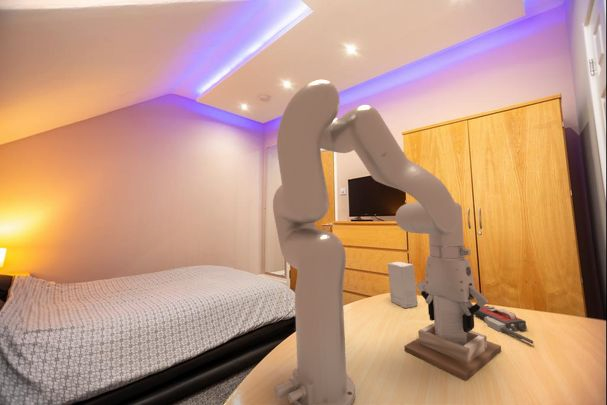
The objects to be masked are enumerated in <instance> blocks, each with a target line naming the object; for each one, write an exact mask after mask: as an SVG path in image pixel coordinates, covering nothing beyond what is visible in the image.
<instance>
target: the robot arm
mask: <svg viewBox="0 0 607 405" xmlns="http://www.w3.org/2000/svg"><path fill="white" fill-rule="evenodd" d="M340 104H341V102H340V95H339V91H338V89H337V88H336V86H335V85H334V84H333V83H332V82H331V81H329V80H327V79H326V80H325V79H317V80H313V81H310V82H309V83H307V84H305V85H303V86H302V87H301V88H299V90H297V92H295V94H294V95H293V96H292V98H291V99H290V100H289V102H288V103H287V105H286V107H285V109H284V110H283V113H282V116H281V119H280V122H279V125H278V131H277V136H276V138H277V139H276V150H277V159H278V165H279V166H278V167H279V173H280V179H281V185H280V186H279V187H278V188H277V189H276V191H275V193H274V196H273V199H272V211H273V215H274V222H275V227H276V233H277V237H278V242H279V246H280V252H281V255H282V256H283V259H284V260H285V262H286V263H287V264H288V265H290V266H291V267H292V268H293V269H296V270H297V271H296V273H297V275H296V281H295V282H296V283H295V288H294V289H295V291H294V312H295V337H296V340H295V341H296V366H297V368H295V369H293V370H292V376H291V377H290V378H289V379H288V381H287V382H285V383H283V382H282V383H281V384H279V385H277V386H274V393H275V394H274V395H275V397H276V399H277V400H280V399H283V398H284V397H286V396H287V399H288V402H289V403H290V404H292V403H293V404H294V405H352V404H353V403H354V401H355V397H356V386H355V383H354V380H353V379H352V378H351V376H349V375H348V374H347V362H346V361H347V358H346V338H345V335H346V334H345V332H346V331H345V314H344V313H345V312H344V310H345V309H344V279H345V272H346V262H347V256H346V255H347V254H346V250H345V247H344V245H343V242H342V241H341V240H340V238H339V237H338V236H337V235H335V234H334V233H332V232H330V231H328V230H324V229H320V228H317V227H316V223H317V222H320V221H321V220H322V219H323V218H324V217H326V216H327V214H328V212H329V209H330V197H329V193H328V188H327V187H328V186H327V181H326V177H325V172H324V167H323V161H322V160H323V159H322V152H321V151H322V150H325V151H329V152H334V153H338V154H339V153H340V154H347V153H348V154H349V153H350V152H352V151H354V152H355V153H356V155H357V156H358V158H359V160H360V161H361V162H362V164H363V165H364V167H365V169H366V170H367V171H368V173H369V174H370V177H371V178H372V179H373V180H374V181H375V182H378V183H379V184H382V185H385V186H387V187H391V188H394V189H396V190H397V189H398V190H399V191H402V192H404V193H406V194H408V195H409V196H411V197H412V198H413V199H414V200H415V201H417V202H409V203H405V204H403V205H401V206H400V207H399V208H398V209H397V211H396V213H395V222H396V224H397V226H398V228H400V229H401V230H403V231H404V232H407V233H410V234H411V233H412V234H426V235H428V245H429V246H428V247H429V255H428V256H427V259H426V263H425V273H424V274H425V276H424V278H425V279H423V280H422V281H420V282H419V283H417V284H416V289H418V291H419V292H420V294H421V296H422V298H424V300H425V303H426V304H427V306H428V307H427V310H428V312H427V313H428V316H429V321H432V322H433V321H434V307H433V297H434V296H439V297H443V298H446V299H449V300H451V301H454V302H458V303H460V305H461V307H462V309H463V310H464V312H465V314H463V331H464V332H466V333H468V332H469V331H473V329H475V315H474V313H475V312H477V311H478V310H480V309H481V308H482V307H483V306H486V304H487V303H488V302H489V300H488V299H487V298H486V296H484V295H483V294H482V293H481V292H480V291H478V290H477V289H476V287H475V280H474V274H473V269H472V266H471V263H470V260H469V258H466V256H470V255H471V250H470V249H468V248H466V246H465V245H464V244H465V241H464V226H463V224H464V222H463V208H462V205H461V204H460V203H459V202H457V201H455V199H454V198H453V197H452V195H451V192H450V191H449V189H448V188H447V186H446V185H445V183H443V182H442V181H441V179H439V178H438V176H436V175H434V174H432V173H431V172H430V171H428V170H426V169H425V168H423V167H422V166H420V165H419V164H417V163H415V162H413V161H411V160H410V159H409V158H408V157H407V156H406V155H405V153H404V151H403V149H402V148H401V146H400V145H399V143H398V141H397V140H396V139H395V137H394V135H393V133H392V132H391V130H390V129H389V127H388V125H387V124H386V122H385V121H384V119H383V117H382V116H381V114H380V112H379V111H378V110H377V109H376V108H375V107H374V106H372V105H369V104H361V105H358V106H356V107H354V108H352V109H350V110H349V111H347V112H346V113H344V114H343V115H342V116H341V117H339V118H338V117H337V115H338V113H339V109H340ZM471 300H476V302H475V304H473V302H472V301H471Z"/></svg>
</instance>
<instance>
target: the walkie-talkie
mask: <svg viewBox="0 0 607 405" xmlns="http://www.w3.org/2000/svg"><path fill="white" fill-rule="evenodd" d="M474 316H475V318H477V319H480V320H482V321H484V322H485V323H486V325H487V327H490V328H491V329H493V330H495V331H497V332H498V333H505V334H508V335H511V336H513V337H515V338H517V339H519V340H523V341H526V342H527V343H529V344H532V345H533V344H534V341H533V339H530V338H528V337H526V336H524V335H522V334H519V333H518V332H519V331H522V332H525V331H526V330H527V329H528V327H527V324H526V322H527V321H526V320H524V319H521V318H520V317H517V315H516V314H515V313H514V312H511V311H508V310H506V309H504V308H498V309H497V308H495V306H494V305H493V306H490V305H484V306H483V307H482V308H481V309H480V310H478V311H477V312H475V313H474Z"/></svg>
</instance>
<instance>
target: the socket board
mask: <svg viewBox="0 0 607 405" xmlns="http://www.w3.org/2000/svg"><path fill="white" fill-rule="evenodd" d="M466 334H467V344H465V345H464V346H462V345H460V344H457V343H455V342H452V341H449V340H447V339H444V338H442V337H439V336H436V335H435V325H434V322H433V323H431V324H429V325H427V326H425V327H423V328H421V329H419V330H418V331H417V335H418V338H416V339H414V340H413V341H411V342H409V343H407V344H405V345H404V346H403V348H404V352H407V353H408V354H410V355H413V356H414V357H417V358H418V359H420V360H422V361H425V362H427V363H429V364H431V365H432V366H434V367H437V368H439V369H441V370H443V371H445V372H448V373H449V374H451V375H453V376H455V377H456V378H457V377H458V378H460V379H461V380H463V381H466V382H467V381H468V380H469V379H471V377H473V376H474V375H475V374H476V373H477V372H478V371H479V370H481V369H482V368H483V367H484V366H485V365H487V364H488V363H489V362H490V361H491V360H493V358H495V357H496V356H497V355H498V354H499V353H500V352H502V346H501V345H500V344H497V343H494V342H491V341H489V340H487V335H485V334H481V333H479V332H476V331H473V330H471V331H469V332H468V333H466Z"/></svg>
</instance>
